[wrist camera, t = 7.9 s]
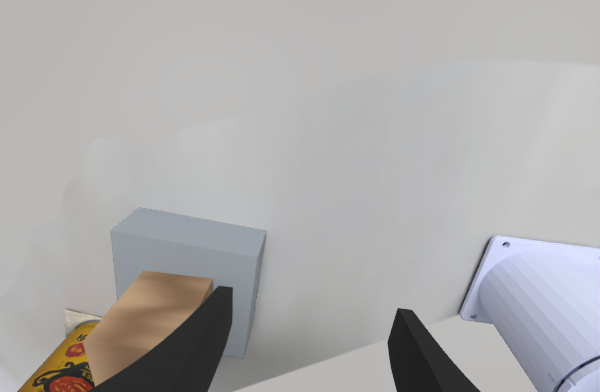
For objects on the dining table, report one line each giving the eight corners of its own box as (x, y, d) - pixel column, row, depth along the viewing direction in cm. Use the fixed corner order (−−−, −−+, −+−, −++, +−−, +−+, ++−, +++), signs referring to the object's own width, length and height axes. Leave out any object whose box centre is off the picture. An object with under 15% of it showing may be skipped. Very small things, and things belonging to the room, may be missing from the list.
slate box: (267, 227, 24) (257, 257, 20) (253, 320, 28) (243, 358, 24) (142, 204, 24) (110, 230, 20) (146, 301, 28) (120, 336, 24)
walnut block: (212, 278, 21) (175, 352, 16) (214, 330, 23) (182, 412, 18) (143, 270, 22) (82, 341, 16) (150, 323, 24) (99, 402, 18)
